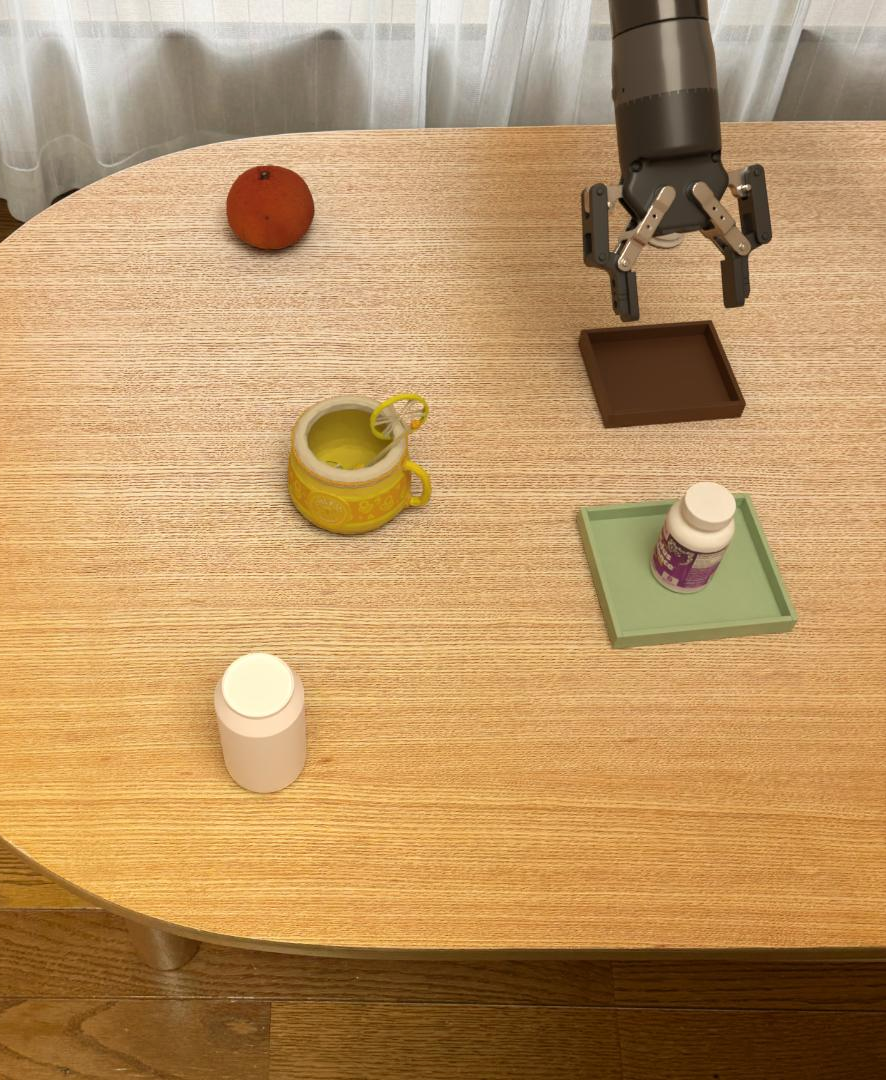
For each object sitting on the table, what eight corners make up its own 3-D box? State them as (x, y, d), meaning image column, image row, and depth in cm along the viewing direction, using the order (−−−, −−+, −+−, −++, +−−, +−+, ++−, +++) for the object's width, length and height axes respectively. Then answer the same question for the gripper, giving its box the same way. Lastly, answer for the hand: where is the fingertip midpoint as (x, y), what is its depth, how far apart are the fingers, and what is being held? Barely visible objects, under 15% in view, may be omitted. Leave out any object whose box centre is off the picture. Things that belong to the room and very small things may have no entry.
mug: (268, 523, 101) (261, 432, 92) (314, 433, 107) (312, 339, 98) (408, 566, 99) (416, 478, 89) (447, 472, 105) (459, 379, 95)
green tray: (742, 505, 103) (748, 492, 102) (791, 631, 96) (798, 619, 94) (576, 520, 102) (579, 507, 101) (612, 649, 95) (617, 637, 93)
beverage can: (314, 789, 87) (311, 716, 78) (231, 805, 87) (218, 733, 77) (299, 715, 91) (294, 636, 81) (219, 730, 90) (205, 652, 80)
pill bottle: (636, 555, 100) (662, 485, 92) (689, 535, 101) (719, 465, 93) (670, 605, 97) (700, 537, 89) (725, 584, 98) (759, 515, 90)
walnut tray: (706, 333, 116) (711, 319, 114) (740, 417, 109) (746, 403, 108) (577, 343, 115) (581, 329, 113) (604, 428, 108) (608, 415, 107)
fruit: (219, 258, 121) (212, 194, 114) (242, 203, 126) (237, 140, 119) (302, 272, 120) (300, 208, 113) (322, 216, 125) (322, 153, 118)
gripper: (592, 95, 83) (613, 326, 86) (779, 74, 85) (794, 300, 88) (557, 115, 90) (578, 328, 93) (730, 96, 92) (745, 304, 95)
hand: (683, 314), depth 90 cm, fingers open, 8 cm apart
